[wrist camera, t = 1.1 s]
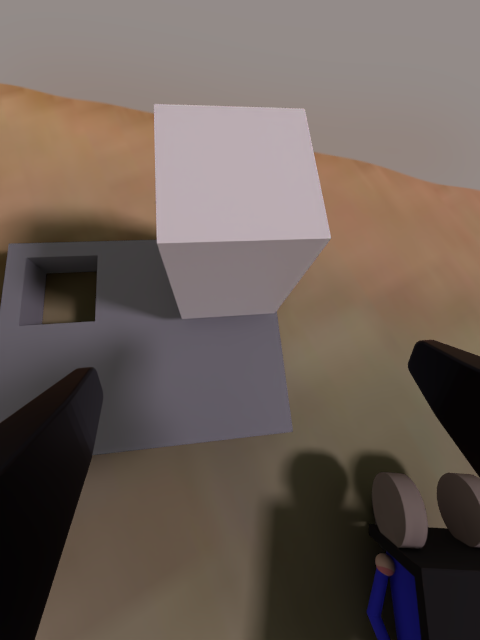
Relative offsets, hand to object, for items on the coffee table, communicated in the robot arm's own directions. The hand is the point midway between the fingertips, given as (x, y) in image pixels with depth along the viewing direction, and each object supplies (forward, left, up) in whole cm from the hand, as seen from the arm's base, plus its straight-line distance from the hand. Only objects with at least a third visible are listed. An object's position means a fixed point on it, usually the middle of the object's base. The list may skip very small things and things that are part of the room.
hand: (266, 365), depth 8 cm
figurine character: (-10, -14, -14) cm, 22 cm away
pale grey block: (+7, +3, -12) cm, 14 cm away
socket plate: (+2, +7, -13) cm, 15 cm away
